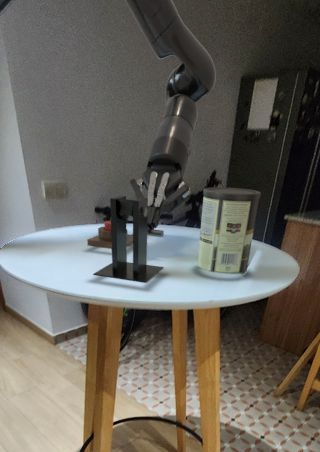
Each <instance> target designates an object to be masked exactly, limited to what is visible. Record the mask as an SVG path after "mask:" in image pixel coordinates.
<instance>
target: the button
mask: <svg viewBox="0 0 320 452" xmlns="http://www.w3.org/2000/svg"><path fill="white" fill-rule="evenodd" d="M104 226H105V230H108V231H111V220H106V221H104Z"/></svg>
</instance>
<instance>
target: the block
mask: <svg viewBox="0 0 320 452" xmlns="http://www.w3.org/2000/svg"><path fill="white" fill-rule="evenodd" d="M126 238H127V247H128V246H130V245H133V234H129V233H128V229H127V228H126ZM86 243H87V246H89V247H96V248H104V249H110V250H112V239H111V231H108V230H105V225H104V226H100V227H98V228H97V235H95V236H92V237H90V238H88V239H87V240H86Z"/></svg>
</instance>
